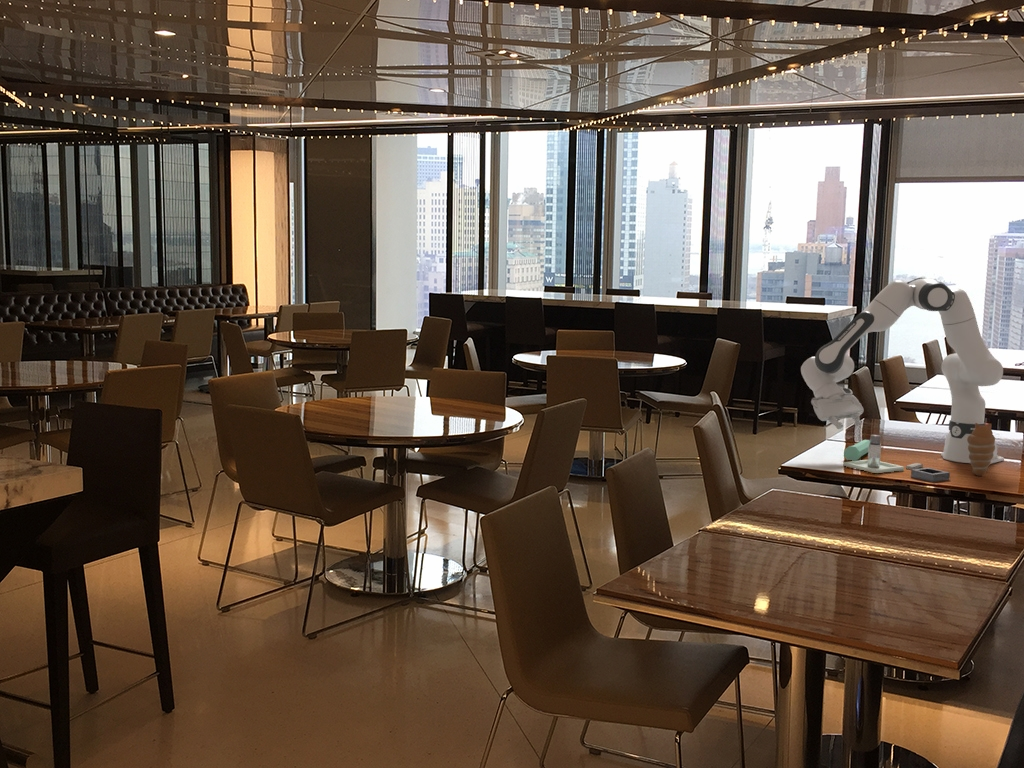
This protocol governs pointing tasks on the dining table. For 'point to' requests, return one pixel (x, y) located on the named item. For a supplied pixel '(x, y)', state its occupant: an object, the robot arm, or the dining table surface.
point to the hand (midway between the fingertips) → (850, 426)
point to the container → (856, 450)
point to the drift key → (914, 466)
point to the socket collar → (930, 474)
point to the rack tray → (883, 468)
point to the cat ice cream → (981, 448)
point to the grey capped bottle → (874, 451)
